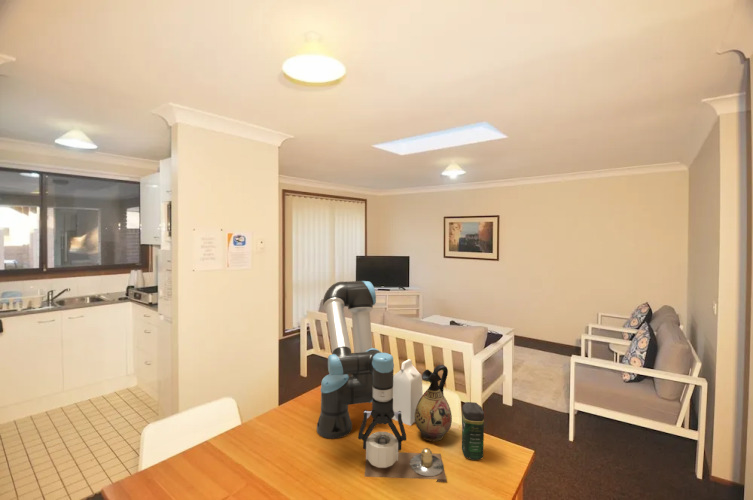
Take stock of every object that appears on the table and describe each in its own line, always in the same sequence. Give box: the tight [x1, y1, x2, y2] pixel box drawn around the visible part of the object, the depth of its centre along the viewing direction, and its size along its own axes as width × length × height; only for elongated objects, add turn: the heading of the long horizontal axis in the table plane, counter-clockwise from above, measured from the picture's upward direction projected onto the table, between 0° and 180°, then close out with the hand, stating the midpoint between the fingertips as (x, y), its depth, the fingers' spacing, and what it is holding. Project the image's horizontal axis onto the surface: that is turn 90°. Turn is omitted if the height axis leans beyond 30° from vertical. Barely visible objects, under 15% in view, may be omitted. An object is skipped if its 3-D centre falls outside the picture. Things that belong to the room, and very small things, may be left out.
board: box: [364, 451, 447, 483], centre depth 124 cm, size 28×14×1 cm, turn 88°
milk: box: [392, 358, 424, 427], centre depth 160 cm, size 12×12×26 cm
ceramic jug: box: [414, 364, 453, 442], centre depth 144 cm, size 17×15×30 cm
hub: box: [410, 447, 445, 477], centre depth 124 cm, size 12×12×6 cm
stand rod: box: [378, 436, 387, 445], centre depth 124 cm, size 3×3×10 cm
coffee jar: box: [461, 401, 485, 461], centre depth 132 cm, size 10×8×19 cm
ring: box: [368, 431, 396, 468], centre depth 124 cm, size 10×10×7 cm
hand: (382, 457), depth 125 cm, fingers closed on ring, 10 cm apart
